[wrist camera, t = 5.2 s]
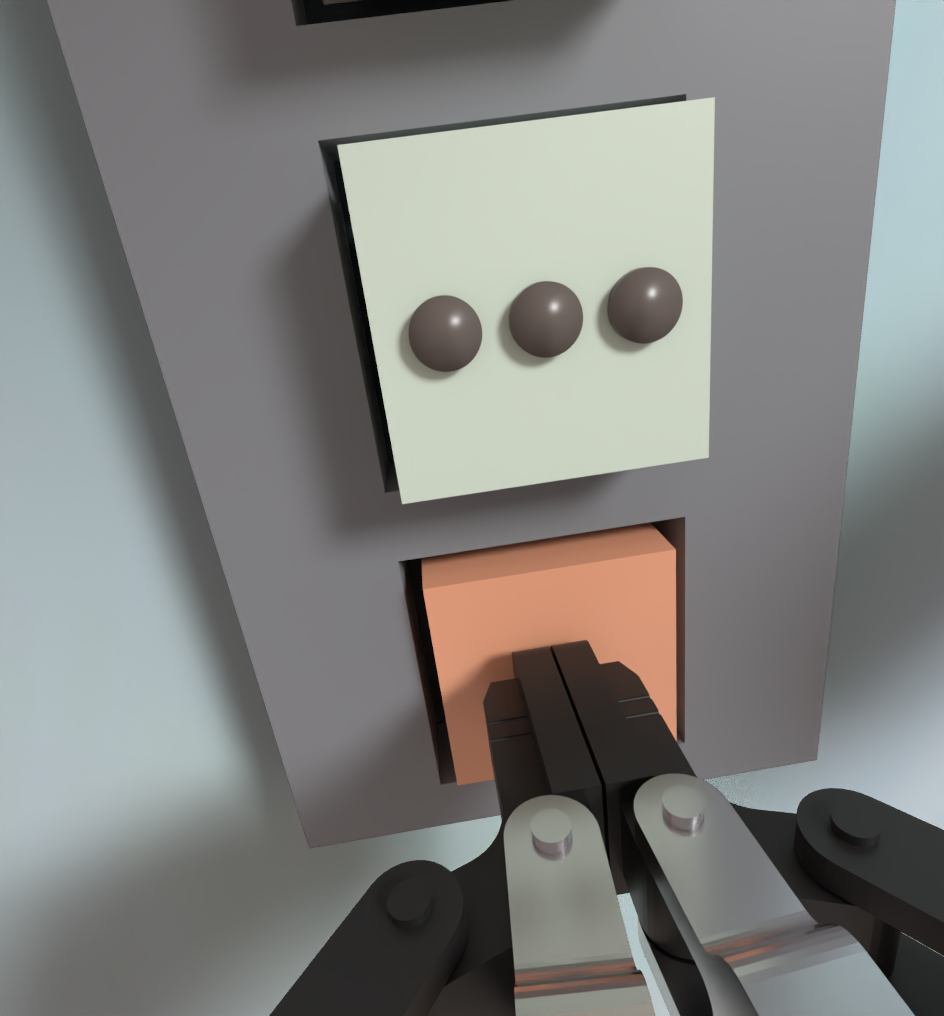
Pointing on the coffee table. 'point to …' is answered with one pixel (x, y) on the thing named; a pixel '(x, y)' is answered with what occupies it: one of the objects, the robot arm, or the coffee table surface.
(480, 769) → the terracotta button
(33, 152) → the coffee table surface
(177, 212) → the button board
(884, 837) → the robot arm
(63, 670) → the coffee table surface
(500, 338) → the sage button
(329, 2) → the cream button
